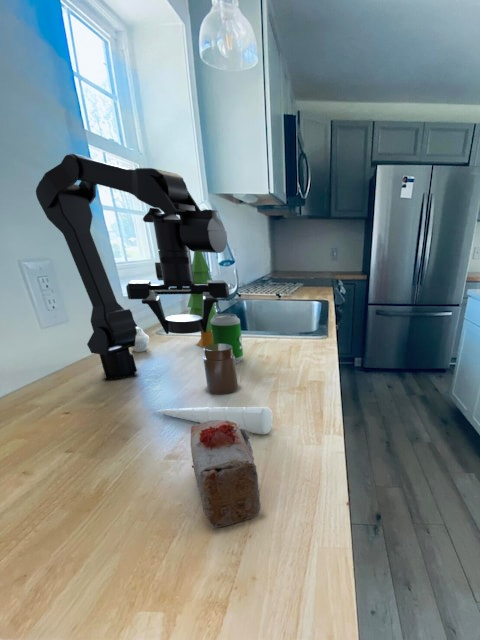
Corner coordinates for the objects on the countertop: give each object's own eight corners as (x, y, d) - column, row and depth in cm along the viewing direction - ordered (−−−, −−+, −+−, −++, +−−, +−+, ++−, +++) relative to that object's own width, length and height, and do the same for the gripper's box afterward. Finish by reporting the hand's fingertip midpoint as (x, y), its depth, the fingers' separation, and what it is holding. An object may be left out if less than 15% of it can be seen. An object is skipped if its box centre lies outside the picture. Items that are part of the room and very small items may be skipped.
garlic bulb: (128, 348, 109) (123, 325, 106) (151, 346, 112) (146, 323, 108) (128, 354, 104) (122, 329, 101) (151, 352, 107) (146, 327, 103)
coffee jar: (211, 396, 78) (205, 352, 74) (204, 386, 83) (198, 345, 79) (241, 391, 81) (237, 349, 77) (233, 381, 86) (229, 341, 82)
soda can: (240, 365, 97) (235, 319, 92) (212, 364, 97) (206, 318, 92) (246, 357, 104) (242, 313, 98) (219, 356, 104) (214, 313, 98)
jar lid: (203, 325, 81) (201, 314, 80) (204, 332, 75) (203, 320, 74) (168, 326, 79) (166, 315, 78) (166, 334, 73) (164, 322, 72)
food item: (192, 472, 53) (180, 411, 49) (246, 460, 56) (240, 402, 51) (205, 533, 42) (192, 462, 38) (272, 515, 45) (267, 447, 41)
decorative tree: (221, 347, 112) (208, 237, 98) (189, 349, 110) (171, 236, 96) (221, 340, 120) (210, 237, 106) (191, 341, 118) (175, 236, 104)
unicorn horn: (170, 406, 73) (166, 383, 71) (275, 428, 66) (274, 403, 64) (153, 415, 69) (147, 392, 67) (262, 440, 62) (261, 414, 60)
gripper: (221, 249, 79) (227, 323, 87) (126, 247, 74) (142, 326, 81) (225, 252, 70) (232, 334, 77) (117, 250, 64) (136, 338, 72)
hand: (186, 332), depth 77 cm, fingers closed on jar lid, 7 cm apart
